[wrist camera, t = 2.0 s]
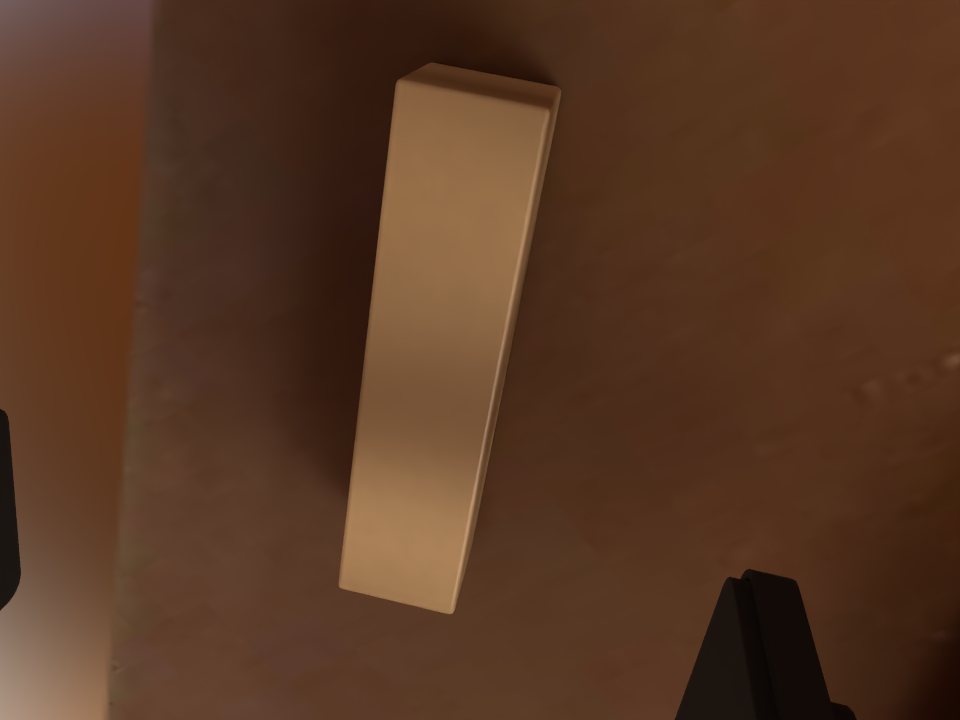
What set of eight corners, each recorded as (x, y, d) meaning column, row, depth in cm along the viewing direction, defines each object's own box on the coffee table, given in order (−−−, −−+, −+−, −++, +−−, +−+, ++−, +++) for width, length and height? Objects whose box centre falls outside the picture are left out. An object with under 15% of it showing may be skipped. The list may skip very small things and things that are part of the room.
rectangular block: (428, 60, 15) (394, 78, 13) (562, 86, 15) (552, 108, 13) (368, 520, 20) (336, 589, 17) (472, 544, 19) (452, 616, 17)
